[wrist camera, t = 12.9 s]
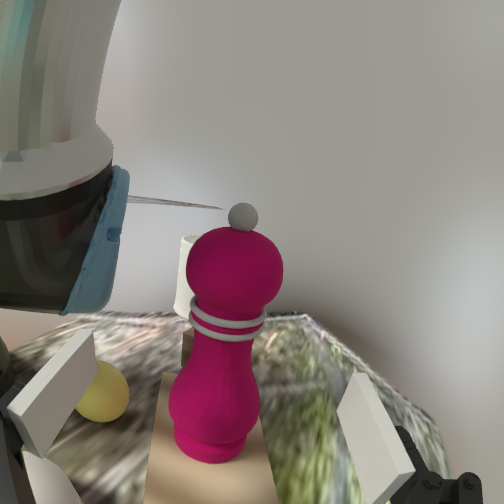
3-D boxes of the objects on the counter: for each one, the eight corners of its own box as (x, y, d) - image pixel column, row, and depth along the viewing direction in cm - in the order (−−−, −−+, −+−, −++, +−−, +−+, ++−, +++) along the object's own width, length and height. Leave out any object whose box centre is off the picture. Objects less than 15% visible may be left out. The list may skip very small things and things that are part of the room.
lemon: (66, 399, 23) (56, 352, 21) (116, 387, 27) (112, 342, 26) (86, 441, 19) (72, 395, 17) (142, 424, 23) (138, 379, 22)
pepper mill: (153, 446, 20) (159, 194, 15) (190, 400, 27) (215, 192, 22) (233, 480, 18) (295, 221, 13) (259, 425, 25) (312, 212, 20)
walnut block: (181, 366, 34) (183, 332, 32) (203, 350, 38) (207, 318, 37) (215, 384, 32) (220, 349, 31) (236, 364, 36) (242, 332, 35)
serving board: (162, 379, 30) (162, 371, 30) (249, 387, 32) (251, 379, 32) (144, 520, 13) (142, 515, 13) (279, 524, 15) (283, 519, 15)
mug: (243, 306, 54) (254, 242, 51) (243, 329, 46) (256, 255, 43) (179, 296, 53) (185, 231, 50) (168, 317, 45) (174, 242, 42)
